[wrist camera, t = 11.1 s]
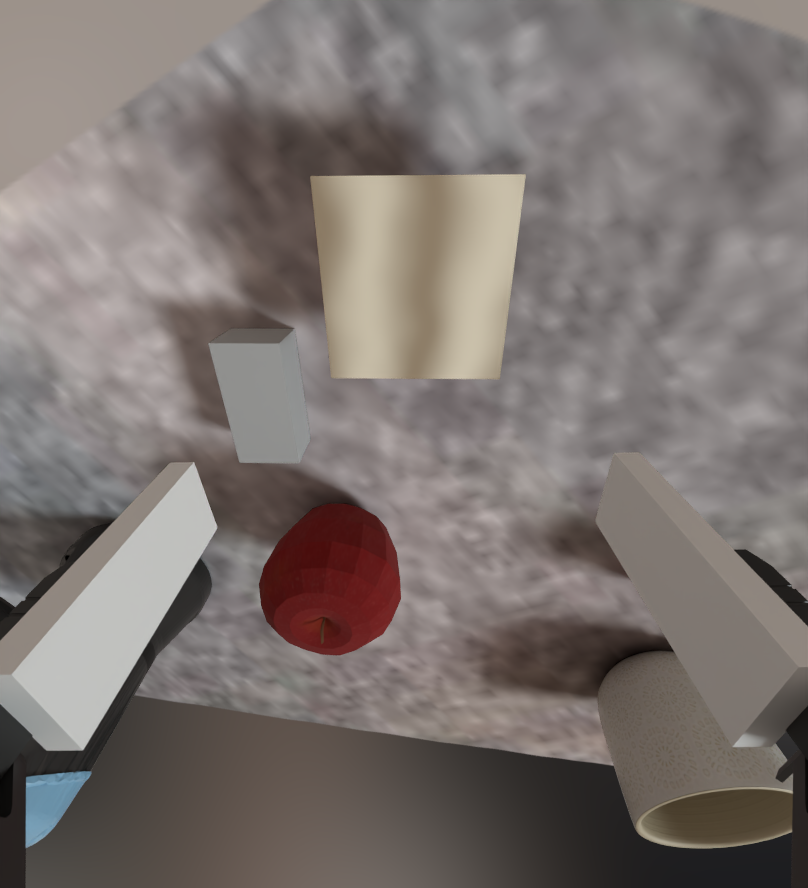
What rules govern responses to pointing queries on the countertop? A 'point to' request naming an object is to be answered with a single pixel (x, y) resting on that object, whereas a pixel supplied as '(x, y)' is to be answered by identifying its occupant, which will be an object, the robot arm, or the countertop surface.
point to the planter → (687, 761)
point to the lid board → (416, 272)
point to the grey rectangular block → (262, 393)
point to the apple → (332, 581)
